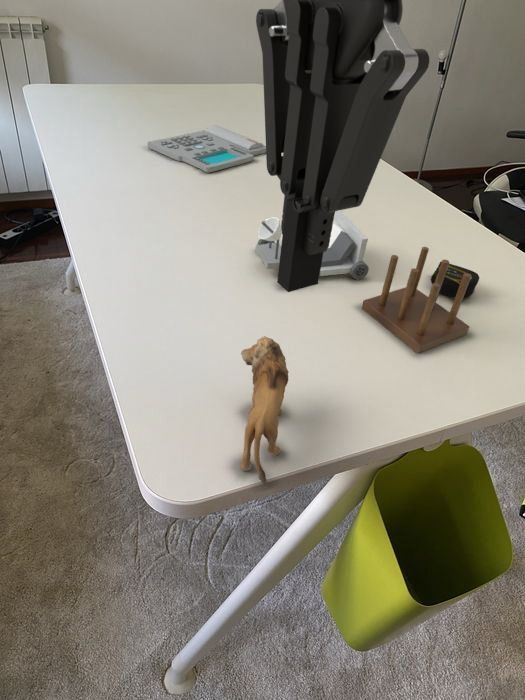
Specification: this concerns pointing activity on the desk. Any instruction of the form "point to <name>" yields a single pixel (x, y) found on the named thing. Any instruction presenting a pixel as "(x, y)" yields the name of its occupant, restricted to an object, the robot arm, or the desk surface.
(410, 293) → the walnut rack
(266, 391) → the lion figurine
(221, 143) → the office telephone
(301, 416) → the desk surface
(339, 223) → the toy car
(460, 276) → the tape measure
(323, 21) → the robot arm
